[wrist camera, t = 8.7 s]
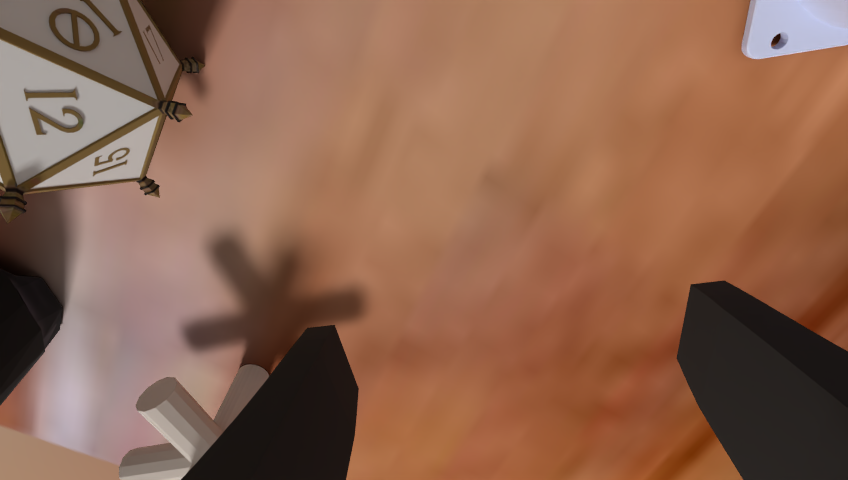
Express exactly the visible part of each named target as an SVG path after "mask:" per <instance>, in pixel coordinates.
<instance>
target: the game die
mask: <svg viewBox="0 0 848 480" xmlns="http://www.w3.org/2000/svg"><path fill="white" fill-rule="evenodd" d="M204 66H205V65H204V64H202V63H200V62H199V61H197V60H195V58H194V57H192V58H191V59H188V58H185V60H182V61H179V60H178V58H177V57H176V55H175V53H174V52H173V50H172V49H171V47H170V46H169V44H168V43H167V41H166V40H165V38H164V37H163V35H162V34H161V32H160V30H159V29H158V27H157V26H156V24H155V23H154V21H153V20H152V18H151V17H150V15H149V14H148V12H147V11H146V9H145V7H144V6H143V4H142V3H141V1H140V0H0V189H1V190H3V191H5V194H4V195H3V196H0V213H1V214H2V216H3V217H4V219H5V221H6V222H7V224H8V223H9V222H11V221H12V220H13V219H15V218H16V217H17V216H19V215H20V214H22V213H25V212H26V210H25V209H24V205H26V204H27V202H26V201H24V199H23V194H32V193H40V192H49V191H57V190H66V189H74V188H83V187H91V186H100V185H109V184H117V183H126V182H134V181H136V182H138V183H139V185H140V189H141V190H143V191H144V192H145V195H147V194H148V195H152V196H156V197H159V198H160V195H159V187H160V186H159V185H157V184H155V183H154V182H155V181H154V180H151V179H149V178H147V177H146V174H147V171H148V168H149V165H150V162H151V159H152V157H153V154H154V151H155V148H156V145H157V142H158V139H159V136H160V134H161V131H162V128H163V125H164V122H165V119H166V116H168V117H169V118H170V119H176V120H177V121H178V122H180V121H182V120H183V119H185V118H187V117H190V116H192V114H191V112H190V111H189V110H188V109H187V107H186V104H185V103H178V102H175V101H172V99H173V96H174V93H175V90H176V88H177V85H178V82H179V79H180V76H181V73H182V71H186V72H187V73H199V70H201V69H202V68H203V67H204Z"/></svg>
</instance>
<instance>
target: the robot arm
mask: <svg viewBox="0 0 848 480" xmlns="http://www.w3.org/2000/svg"><path fill="white" fill-rule="evenodd" d="M779 33H780V34H781V38H780V40H779V42H778V43H777V44H776V45H775V46H773V47H771V41H772V39H773V38H774V37H775V36H776V35H777V34H779ZM844 45H848V0H751V2H750V7H749V11H748V16H747V21H746V26H745V31H744V36H743V41H742V52H743V54H744V55H745V56H747V57H749V58H752V59H762V58H769V57H775V56H781V55H787V54H794V53H800V52H806V51H812V50H819V49H825V48H831V47H837V46H844ZM677 360H678V362H679V364H680V367H681V369H682V371H683V373H684V376H685V378H686V380H687V383H688V385H689V387H690V389H691V391H692V393H693V395H694V397H695V400H696V402H697V404H698V406H699V408H700V409H701V411H702V413H703V414H704V416H705V418H706V419H707V421H708V423H709V424H710V426H711V428H712V429H713V431H714V433H715V434H716V436H717V438H718V439H719V441H720V442H721V444H722V446H723V447H724V449H725V451H726V452H727V454H728V455H729V457H730V459H731V460H732V462H733V464H734V465H735V467H736V468H737V470H738V472H739V473H740V475H741V476H742V478H743V480H848V351H846V350H844V349H842V348H841V347H839V346H837V345H835V344H833V343H832V342H830V341H828V340H826V339H825V338H823V337H821V336H820V335H818V334H816V333H814V332H813V331H811V330H809V329H807V328H806V327H804V326H802V325H801V324H799V323H797V322H796V321H794V320H792V319H790V318H789V317H787V316H785V315H784V314H782V313H780V312H778V311H777V310H775V309H773V308H772V307H770V306H768V305H767V304H765V303H763V302H761V301H760V300H758V299H756V298H755V297H753V296H751V295H749V294H748V293H746V292H744V291H742V290H741V289H739V288H737V287H735V286H733V285H731V284H730V283H728V282H726V281H717V282H708V283H699V284H691V287H690V292H689V297H688V302H687V307H686V313H685V318H684V323H683V328H682V333H681V338H680V344H679V349H678V354H677ZM357 402H358V386H357V383H356V381H355V378H354V375H353V373H352V370H351V367H350V365H349V362H348V359H347V357H346V354H345V351H344V349H343V346H342V344H341V341H340V338H339V336H338V333H337V330H336V328H335V325H330V326H321V327H313V328H307V329H306V330H305V332H304V333H303V334H302V335H301V336H300V338H299V339H298V340H297V342H296V343H295V344H294V345H293V347H292V348H291V349H290V350H289V352H288V353H287V354H286V356H285V357H284V358H283V359H282V361H281V362H280V363H279V364H278V366H277V367H276V368H275V370H274V371H273V372H272V373H271V375H270V376H269V377H268V379H267V380H266V381H265V382H264V384H263V385H262V386H261V387H260V389H259V390H258V391H257V392H256V394H255V395H254V396H253V397H252V398H251V400H250V401H249V402H248V403H247V405H246V406H245V407H244V408H243V410H242V411H241V412H240V413H239V414H238V416H237V417H236V418H235V419H234V420H233V422H232V423H231V424H230V425H229V426H228V427H227V428H226V430H225V431H224V432H223V433H222V434H221V435H220V436H219V438H218V439H217V440H216V441H215V442H214V443H213V444H212V446H211V447H210V448H209V449H208V450H207V451H206V452H205V454H204V455H203V456H202V457H201V458H200V459H199V461H198V462H197V463H196V464H195V465H194V466H193V467H192V468H191V469H190V470H189V471H188V472H187V474H186V475H185V476H184V477H183V478H182V479H181V480H346V476H347V471H348V466H349V461H350V456H351V451H352V446H353V441H354V436H355V426H356V415H357Z"/></svg>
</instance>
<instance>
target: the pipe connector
mask: <svg viewBox="0 0 848 480" xmlns="http://www.w3.org/2000/svg"><path fill="white" fill-rule="evenodd" d="M268 377H269V374H268V372H267V371H266V370H265V369H263V368H262V367H260V366H257V365H251V364H249V365H244V366H242V367H240V369H239V371H238V373H237V375H236V377H235V378H234V380H233V382H232V384H231V386H230V388H229V390H228V392H227V394H226V396H225V398H224V400H223V402H222V404H221V406H220V408H219V410H218V412H217V414H216V416H215V418H214V420H212V418H211V417H210V416H209V415H208V414H207V413H206V412H205V411H204V410H203V408H202V407H201V406H200V405H199V404H198V403H197V402H196V401H195V400H194V398H193V397H192V396H191V395H190V394H189V393H188V392H187V391H186V390H185V388H184V387H183V386H182V385H181V384H180V383H179V382H178V381H177V380H176V378H174V377H166V378H164V379H161V380H159V381H157V382H155V383H154V384H153V385H151V386H150V387H148V388H147V389H146V390H145V391H144V392H143V394H142V395H141V396H140V397H139V399H138V401H137V403H136V408H137V411H138V412H139V413H140V414H141V415H142V416H143V417H144V418H145V419H146V420H147V421H148V422H149V423H151V424H152V425H153V426H154V427H155V428H156V429H157V430H158V431H159V432H160V433H161V434H162V435H163V436H164V437H165V438H166V439H167V440H168V441H169V442H170V443H166V444H160V445H153V446H147V447H141V448H136V449H133V450H130V451H129V452H128V453H127V454H126V455H125V456H124V457H123V459H122V462H121V464H120V467H119V478H120V479H121V480H181V479H182V478H183V477H184V476H185V475H186V474H187V472H188V471H189V470H190V469H191V468H192V467H193V466H194V465H195V464H196V463H197V462H198V461H199V459H200V458H201V457H202V456H203V455H204V454H205V452H206V451H207V450H208V449H209V448H210V447H211V446H212V444H213V443H214V442H215V441H216V440H217V439H218V438H219V436H220V435H221V434H222V433H223V432H224V431H225V430H226V428H227V427H228V426H229V425H230V424H231V423H232V422H233V420H234V419H235V418H236V417H237V416H238V414H239V413H240V412H241V411H242V410H243V408H244V407H245V406H246V405H247V403H248V402H249V401H250V400H251V398H252V397H253V396H254V395H255V394H256V392H257V391H258V390H259V389H260V387H261V386H262V385H263V384H264V382H265V381H266V380H267V379H268Z"/></svg>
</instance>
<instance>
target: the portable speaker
mask: <svg viewBox="0 0 848 480" xmlns="http://www.w3.org/2000/svg"><path fill="white" fill-rule="evenodd" d="M61 316H62V307H61V305H60V304H59V302H58V301H57V299H56V298H55V296H54V295H53V294H52V292H51V291H50V289H49V288H48V286H47V285H46V283H45V282H44V280H43V279H42V278H38V277H31V276H16V275H13V274H11V273H9V272H7V271H5V270H3V269H0V405H1V404H2V403H3V402H4V400H5V399H6V398H7V397H8V396H9V394H10V393H11V392H12V391H13V390H14V388H15V387H16V386H17V385H18V383H19V382H20V381H21V380H22V379H23V377H24V376H25V375H26V374H27V373H28V371H29V370H30V369H31V368H32V367H33V365H34V364H35V363H36V362H37V360H38V359H39V358H40V357H41V356H42V354H43V353H44V352H45V348H46V347H47V346H48V344H49V343H50V342H51V340H52V339H53V338H54V337H55V335H56V334H57V333H58V331H59V330H60V323H61Z"/></svg>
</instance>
